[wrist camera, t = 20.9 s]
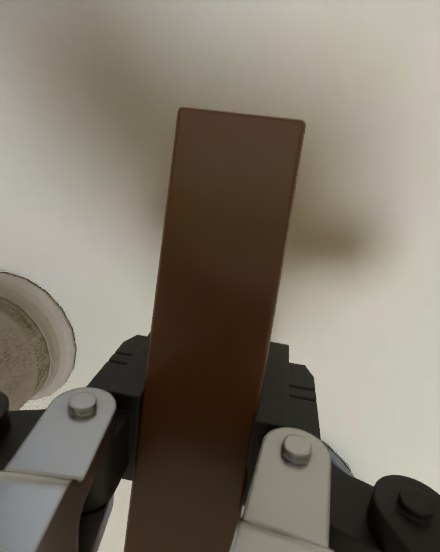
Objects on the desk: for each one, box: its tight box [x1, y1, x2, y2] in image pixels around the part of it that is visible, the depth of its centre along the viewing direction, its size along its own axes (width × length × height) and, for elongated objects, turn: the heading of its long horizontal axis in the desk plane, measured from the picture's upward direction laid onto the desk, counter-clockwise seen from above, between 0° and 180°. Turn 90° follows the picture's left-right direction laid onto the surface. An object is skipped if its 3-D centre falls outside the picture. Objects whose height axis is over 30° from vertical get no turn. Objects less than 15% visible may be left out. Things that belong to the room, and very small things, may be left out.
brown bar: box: [124, 107, 306, 552], centre depth 10 cm, size 18×3×4 cm, turn 173°
